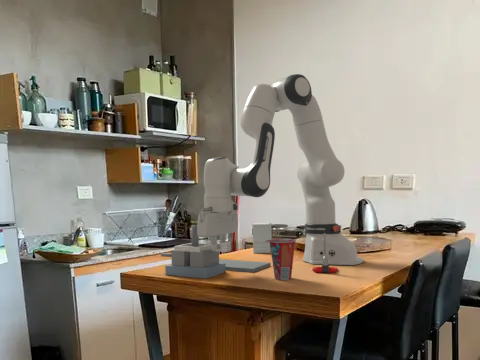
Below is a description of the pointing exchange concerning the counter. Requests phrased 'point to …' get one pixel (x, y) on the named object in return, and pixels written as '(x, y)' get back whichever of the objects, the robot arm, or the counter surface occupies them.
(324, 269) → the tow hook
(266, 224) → the supplement box
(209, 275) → the vise
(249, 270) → the mat
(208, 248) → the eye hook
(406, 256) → the counter surface
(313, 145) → the robot arm
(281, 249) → the cup
